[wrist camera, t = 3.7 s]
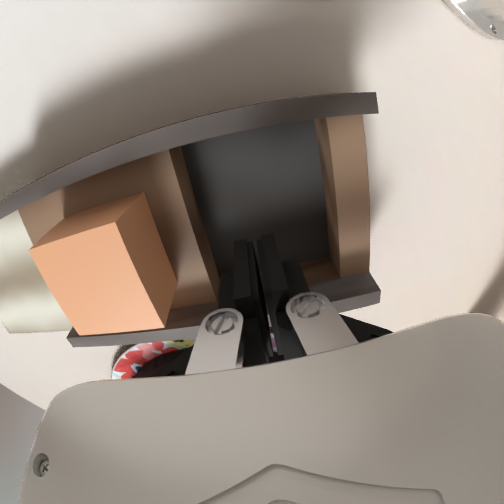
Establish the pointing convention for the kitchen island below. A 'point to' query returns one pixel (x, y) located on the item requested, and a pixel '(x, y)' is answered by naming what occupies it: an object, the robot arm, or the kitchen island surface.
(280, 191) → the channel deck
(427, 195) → the kitchen island surface
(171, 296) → the block
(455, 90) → the kitchen island surface
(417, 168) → the kitchen island surface
